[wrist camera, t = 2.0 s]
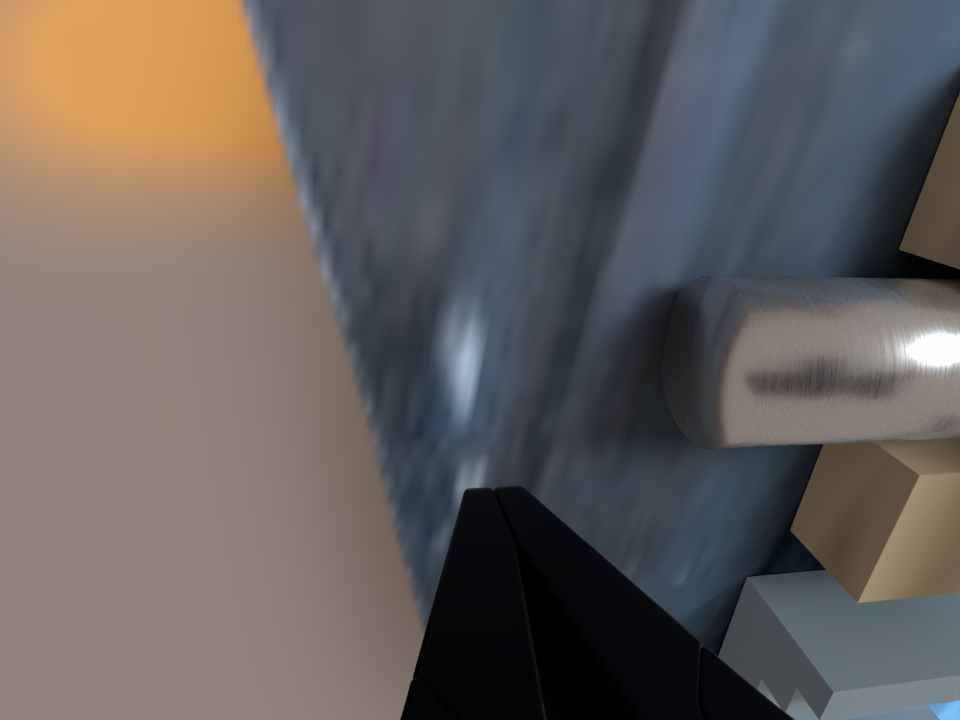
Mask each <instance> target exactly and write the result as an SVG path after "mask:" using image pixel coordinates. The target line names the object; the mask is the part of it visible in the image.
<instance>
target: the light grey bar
mask: <svg viewBox="0 0 960 720" xmlns="http://www.w3.org/2000/svg"><path fill="white" fill-rule="evenodd" d="M661 374H662V382H663V388H664V393H665V397H666V400H667V404H668V407H669V409H670V412H671V414H672V416H673V419H674V420H675V422H676V424H677V426H678V427H679V429H680V430H681V431H682V433H683V434H684V435H685V436H686V437H687V438H688V439H689V440H690V441H691V442H693V443H694V444H696V445H698V446H700V447H703V448H707V449H722V448H744V447H767V446H789V445H812V444H834V443H856V442H879V441H901V440H924V439H946V438H960V279H909V278H842V277H776V276H709V275H707V276H701V277H699V278H696V279H694V280H693V281H691V282H690V283H688V284H687V285H686V286H685V287H684V288H683V289H682V291H681V292H680V293H679V294H678V296H677V298H676V299H675V301H674V305H673V309H672V314H671V318H670V322H669V327H668V331H667V336H666V340H665V345H664V349H663V353H662V358H661Z"/></svg>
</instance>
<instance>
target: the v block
mask: <svg viewBox="0 0 960 720" xmlns="http://www.w3.org/2000/svg"><path fill="white" fill-rule="evenodd" d="M718 657H719V658H721V659H722V660H723V661H724V662H725V663H726V664H727V665H729V666H730V667H731V668H732V669H733V670H734V671H736V672H737V673H738V674H739V675H740V676H742V677H743V678H744V679H745V680H746V681H748V682H749V683H750V684H751V685H752V686H754V687H755V688H756V689H757V690H758V691H760V692H761V693H762V694H763V695H764V696H766V697H767V698H768V699H769V700H770V701H772V702H773V703H774V704H775V705H777V706H778V707H779V708H781V709H782V710H783V711H784V712H786V713H787V714H788V715H790V716H791V717H792V718H794V719H795V720H939V719H938V718H937V716H936V715H935V714H934V713H933V712H932V711H931V710H930V708H929V707H928V706H929V705H930V704H936V703H943V702H950V701H957V700H960V593H950V594H940V595H931V596H921V597H911V598H902V599H892V600H883V601H873V602H863V603H857V602H856V601H855V600H854V599H853V598H852V597H851V596H850V594H849V593H848V592H847V591H846V590H845V589H844V588H843V587H842V586H841V585H840V584H839V583H838V581H837V580H836V579H835V578H834V577H833V576H832V575H831V574H830V573H829V572H828V571H827V570H817V571H806V572H795V573H784V574H773V575H762V576H751V577H747V578H746V581H745V584H744V586H743V589H742V592H741V595H740V597H739V600H738V603H737V606H736V608H735V611H734V614H733V617H732V620H731V622H730V625H729V628H728V631H727V633H726V636H725V639H724V642H723V644H722V647H721V650H720V653H719V655H718Z"/></svg>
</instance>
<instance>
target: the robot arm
mask: <svg viewBox="0 0 960 720" xmlns="http://www.w3.org/2000/svg"><path fill="white" fill-rule="evenodd" d="M400 720H795V719H794V718H792V717H791V716H790V715H788V714H787V713H786V712H784V711H783V710H782V709H781V708H779V707H778V706H777V705H775V704H774V703H773V702H772V701H770V700H769V699H768V698H767V697H766V696H764V695H763V694H762V693H761V692H760V691H758V690H757V689H756V688H755V687H754V686H752V685H751V684H750V683H749V682H748V681H746V680H745V679H744V678H743V677H742V676H740V675H739V674H738V673H737V672H736V671H734V670H733V669H732V668H731V667H730V666H729V665H727V664H726V663H725V662H724V661H723V660H722V659H721V658H719V657H718V656H717V655H716V654H715V653H714V652H712V651H711V650H710V649H709V648H708V647H703V648H702V643H701V642H700V641H699V640H698V639H697V638H696V637H695V636H694V635H693V634H691V633H690V632H689V631H688V630H687V629H686V628H685V627H683V626H682V625H681V624H680V623H679V622H678V621H676V620H675V619H674V618H673V617H672V616H671V615H670V614H668V613H667V612H666V611H665V610H664V609H663V608H662V607H660V606H659V605H658V604H657V603H656V602H655V601H653V600H652V599H651V598H650V597H649V596H648V595H647V594H645V593H644V592H643V591H642V590H641V589H640V588H639V587H637V586H636V585H635V584H634V583H633V582H632V581H630V580H629V579H628V578H627V577H626V576H625V575H624V574H622V573H621V572H620V571H619V570H618V569H617V568H615V567H614V566H613V565H612V564H611V563H610V562H609V561H607V560H606V559H605V558H604V557H603V556H602V555H601V554H599V553H598V552H597V551H596V550H595V549H594V548H592V547H591V546H590V545H589V544H588V543H587V542H586V541H584V540H583V539H582V538H581V537H580V536H579V535H578V534H576V533H575V532H574V531H573V530H572V529H571V528H569V527H568V526H567V525H566V524H565V523H564V522H563V521H561V520H560V519H559V518H558V517H557V516H556V515H554V514H553V513H552V512H551V511H550V510H549V509H548V508H546V507H545V506H544V505H543V504H542V503H541V502H540V501H538V500H537V499H536V498H535V497H534V496H533V495H531V494H530V493H529V492H528V491H527V490H526V489H524V488H523V487H521V486H507V487H497V488H495V489H494V491H493V489H491V488H470V489H467V490H465V492H464V494H463V498H462V501H461V505H460V509H459V512H458V516H457V519H456V523H455V527H454V530H453V534H452V537H451V541H450V545H449V548H448V552H447V555H446V559H445V563H444V566H443V570H442V573H441V577H440V581H439V584H438V588H437V591H436V595H435V599H434V602H433V606H432V610H431V613H430V617H429V620H428V624H427V628H426V631H425V635H424V638H423V642H422V646H421V649H420V653H419V657H418V660H417V664H416V667H415V671H414V675H413V680H412V682H411V684H410V687H409V691H408V695H407V698H406V702H405V706H404V709H403V713H402V716H401V719H400Z"/></svg>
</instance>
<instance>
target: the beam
mask: <svg viewBox="0 0 960 720" xmlns="http://www.w3.org/2000/svg"><path fill="white" fill-rule="evenodd" d="M899 250H902V251H905V252H908V253H911V254H914V255H917V256H920V257H923V258H926V259H929V260H932V261H935V262H938V263H941V264H944V265H948V266H951V267H954V268H957V269H960V93H959V95H958V98H957V100H956V103H955V105H954V108H953V111H952V113H951V116H950V118H949V121H948V124H947V126H946V129H945V131H944V134H943V136H942V139H941V142H940V144H939V147H938V149H937V152H936V155H935V157H934V160H933V162H932V165H931V167H930V170H929V173H928V175H927V178H926V180H925V183H924V186H923V188H922V191H921V193H920V196H919V198H918V201H917V204H916V206H915V209H914V211H913V214H912V216H911V219H910V222H909V224H908V227H907V229H906V232H905V235H904V237H903V240H902V242H901V245H900V247H899ZM790 531H791V532H792V533H793V534H794V535H795V536H796V537H797V538H798V539H799V540H800V541H801V543H802V544H803V545H804V546H805V547H806V548H807V549H808V550H809V551H810V552H811V553H812V554H813V555H814V557H815V558H816V559H817V560H818V561H819V562H820V563H821V564H822V565H823V566H824V567H825V568H826V570H827V571H828V572H829V573H830V574H831V575H832V576H833V577H834V578H835V579H836V580H837V581H838V583H839V584H840V585H841V586H842V587H843V588H844V589H845V590H846V591H847V592H848V593H849V594H850V596H851V597H852V598H853V599H854V600H855V601H856V602H857V603H863V602H873V601H883V600H892V599H902V598H911V597H921V596H931V595H940V594H950V593H960V438H946V439H924V440H901V441H879V442H856V443H834V444H823V446H822V449H821V451H820V454H819V457H818V459H817V462H816V464H815V467H814V470H813V472H812V475H811V477H810V480H809V482H808V485H807V488H806V490H805V493H804V495H803V498H802V500H801V503H800V506H799V508H798V511H797V513H796V516H795V519H794V521H793V524H792V526H791V529H790Z"/></svg>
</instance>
